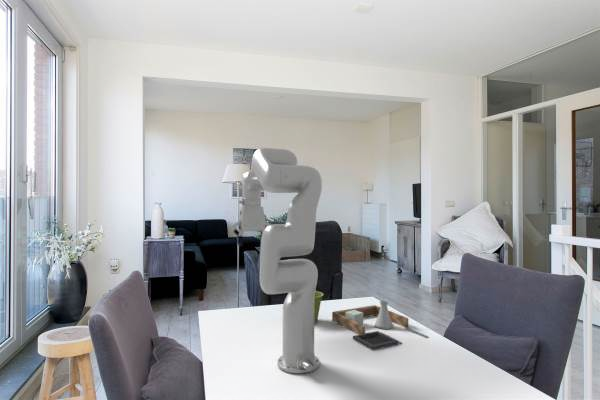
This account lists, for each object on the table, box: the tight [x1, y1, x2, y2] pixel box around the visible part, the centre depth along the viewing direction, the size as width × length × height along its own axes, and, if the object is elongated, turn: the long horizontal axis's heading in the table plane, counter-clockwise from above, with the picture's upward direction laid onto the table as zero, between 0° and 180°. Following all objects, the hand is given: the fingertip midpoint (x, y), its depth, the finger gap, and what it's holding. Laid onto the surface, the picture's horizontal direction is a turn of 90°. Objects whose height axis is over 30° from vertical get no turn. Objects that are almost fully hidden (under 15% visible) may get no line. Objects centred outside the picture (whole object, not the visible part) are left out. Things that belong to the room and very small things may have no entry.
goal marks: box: [380, 326, 429, 345], centre depth 136 cm, size 11×13×1 cm
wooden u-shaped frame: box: [331, 304, 409, 335], centre depth 150 cm, size 20×22×4 cm
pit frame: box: [352, 330, 399, 351], centre depth 131 cm, size 11×11×1 cm
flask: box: [374, 299, 394, 330], centre depth 146 cm, size 7×7×10 cm
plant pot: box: [314, 290, 324, 324], centre depth 153 cm, size 12×12×11 cm
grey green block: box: [345, 310, 364, 326], centre depth 148 cm, size 5×5×5 cm
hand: (251, 245), depth 153 cm, fingers open, 9 cm apart
